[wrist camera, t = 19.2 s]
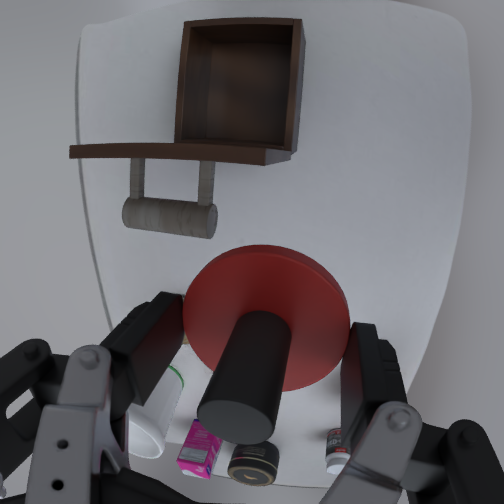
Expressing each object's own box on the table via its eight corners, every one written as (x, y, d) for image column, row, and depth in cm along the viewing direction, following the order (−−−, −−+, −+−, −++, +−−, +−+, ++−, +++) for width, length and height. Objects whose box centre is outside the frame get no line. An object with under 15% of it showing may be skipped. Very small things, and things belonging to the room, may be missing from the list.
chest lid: (69, 145, 15) (71, 232, 17) (266, 148, 13) (255, 261, 15) (171, 143, 28) (169, 195, 30) (291, 151, 27) (285, 208, 28)
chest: (209, 40, 31) (183, 21, 24) (305, 41, 29) (302, 18, 22) (201, 143, 36) (173, 147, 29) (296, 151, 34) (291, 155, 27)
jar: (280, 462, 57) (275, 489, 50) (237, 456, 59) (229, 482, 52) (281, 439, 53) (275, 469, 47) (233, 433, 56) (223, 462, 49)
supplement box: (225, 438, 57) (210, 480, 46) (199, 433, 58) (182, 474, 48) (221, 422, 55) (204, 467, 44) (193, 418, 56) (174, 460, 46)
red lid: (182, 238, 11) (100, 308, 6) (360, 250, 10) (386, 343, 5) (197, 368, 13) (153, 453, 8) (336, 385, 12) (332, 484, 7)
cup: (173, 407, 56) (143, 463, 42) (125, 369, 55) (85, 421, 41) (206, 384, 51) (175, 451, 37) (151, 340, 50) (105, 400, 36)
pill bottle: (347, 425, 49) (347, 461, 41) (354, 437, 50) (353, 472, 42) (323, 431, 50) (320, 466, 43) (331, 442, 51) (329, 476, 44)
